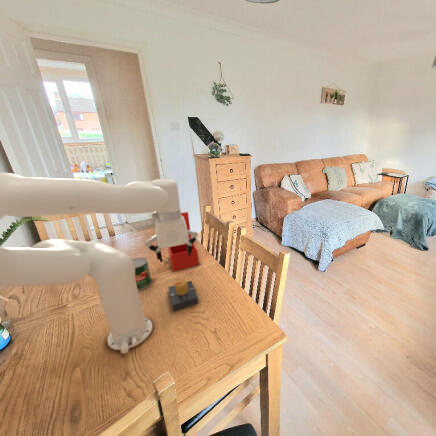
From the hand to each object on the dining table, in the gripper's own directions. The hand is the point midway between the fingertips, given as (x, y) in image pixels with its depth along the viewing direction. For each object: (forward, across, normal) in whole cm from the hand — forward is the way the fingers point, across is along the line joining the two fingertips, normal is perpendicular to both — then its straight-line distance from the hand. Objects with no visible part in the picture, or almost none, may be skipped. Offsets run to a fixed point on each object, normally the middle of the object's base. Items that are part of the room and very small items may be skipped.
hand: (175, 257), depth 89 cm
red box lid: (+3, +5, +35) cm, 35 cm away
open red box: (+19, +6, +28) cm, 35 cm away
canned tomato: (+20, -13, +18) cm, 30 cm away
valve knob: (+16, +1, 0) cm, 16 cm away
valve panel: (+20, +1, 0) cm, 20 cm away
